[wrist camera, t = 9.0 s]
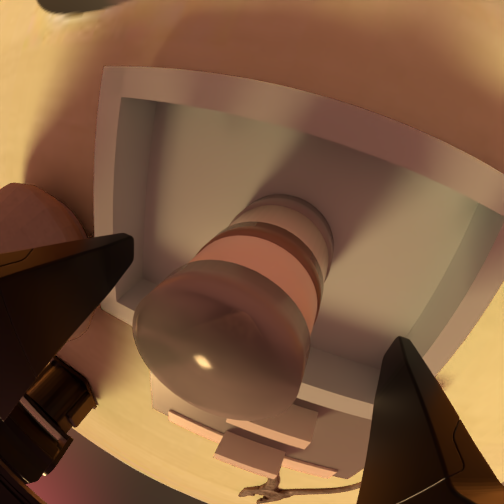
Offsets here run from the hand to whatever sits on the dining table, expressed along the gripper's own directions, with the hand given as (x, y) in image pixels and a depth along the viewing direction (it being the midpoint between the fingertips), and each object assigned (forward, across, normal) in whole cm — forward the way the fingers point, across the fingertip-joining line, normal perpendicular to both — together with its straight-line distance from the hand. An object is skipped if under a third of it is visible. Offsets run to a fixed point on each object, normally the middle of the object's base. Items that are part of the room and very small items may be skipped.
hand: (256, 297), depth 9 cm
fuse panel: (+5, -2, +12) cm, 13 cm away
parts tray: (+5, 0, 0) cm, 5 cm away
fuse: (+4, 0, 0) cm, 4 cm away
